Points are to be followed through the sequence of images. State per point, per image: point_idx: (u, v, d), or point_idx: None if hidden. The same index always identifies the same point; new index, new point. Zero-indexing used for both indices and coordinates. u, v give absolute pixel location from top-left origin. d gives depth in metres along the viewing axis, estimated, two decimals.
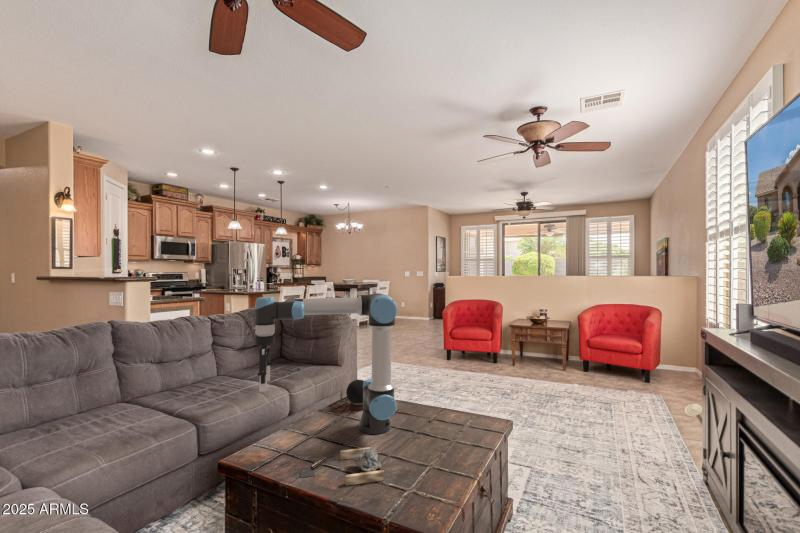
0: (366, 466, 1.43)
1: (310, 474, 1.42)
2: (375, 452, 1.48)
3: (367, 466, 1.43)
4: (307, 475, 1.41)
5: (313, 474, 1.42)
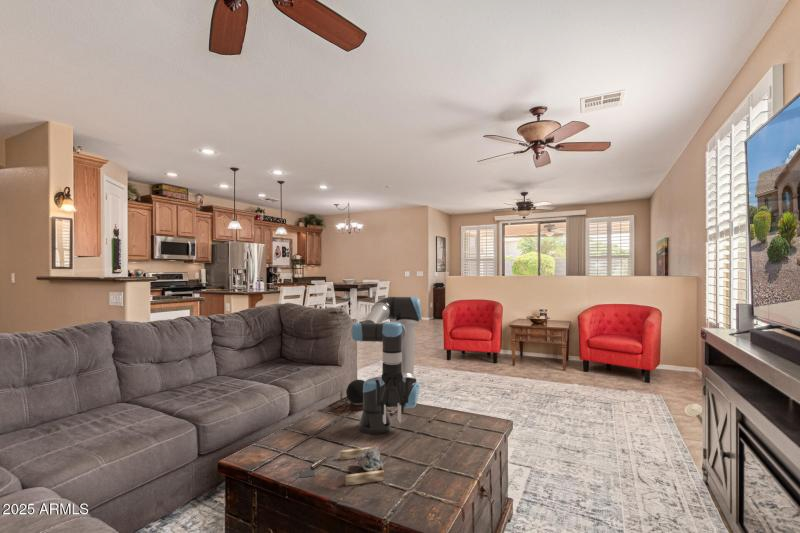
0: (368, 466, 1.44)
1: (310, 474, 1.42)
2: (377, 452, 1.49)
3: (369, 466, 1.44)
4: (307, 475, 1.41)
5: (313, 474, 1.42)
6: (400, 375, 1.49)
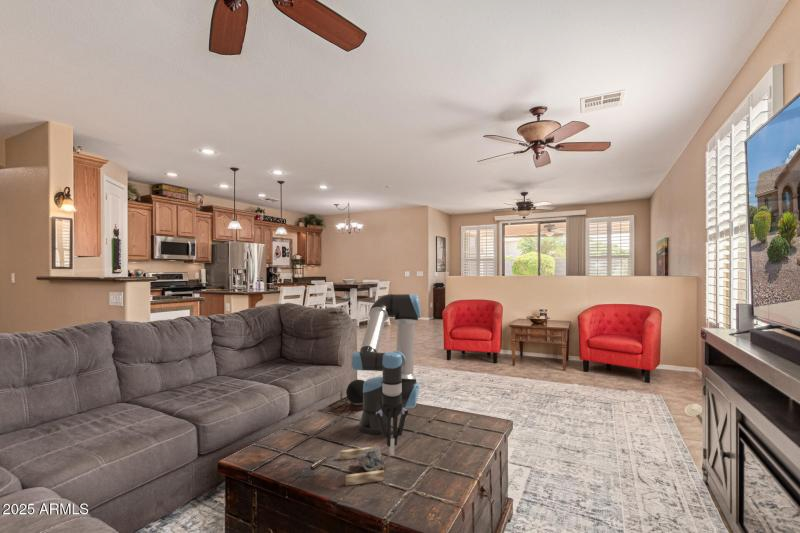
0: (369, 466, 1.44)
1: (310, 474, 1.42)
2: (378, 452, 1.49)
3: (370, 466, 1.44)
4: (307, 475, 1.41)
5: (313, 474, 1.42)
6: (400, 406, 1.49)
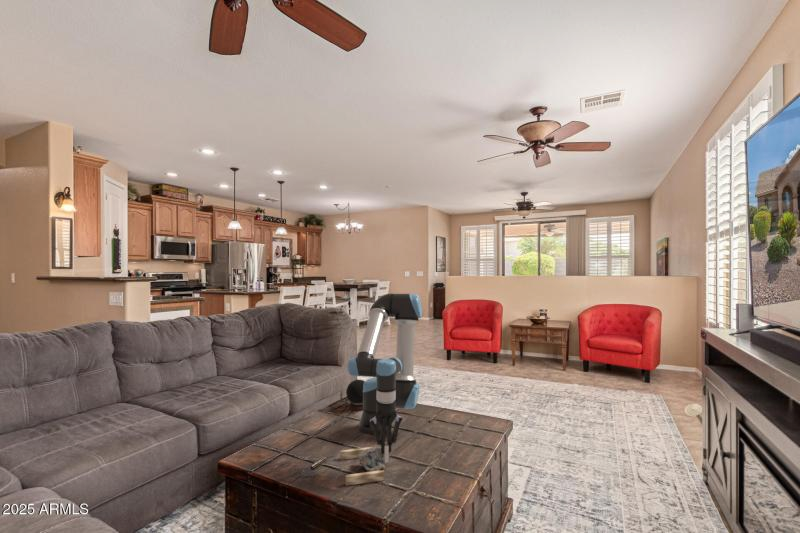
0: (370, 465, 1.44)
1: (310, 474, 1.42)
2: (379, 452, 1.49)
3: (371, 465, 1.44)
4: (307, 475, 1.41)
5: (313, 474, 1.42)
6: (394, 413, 1.48)
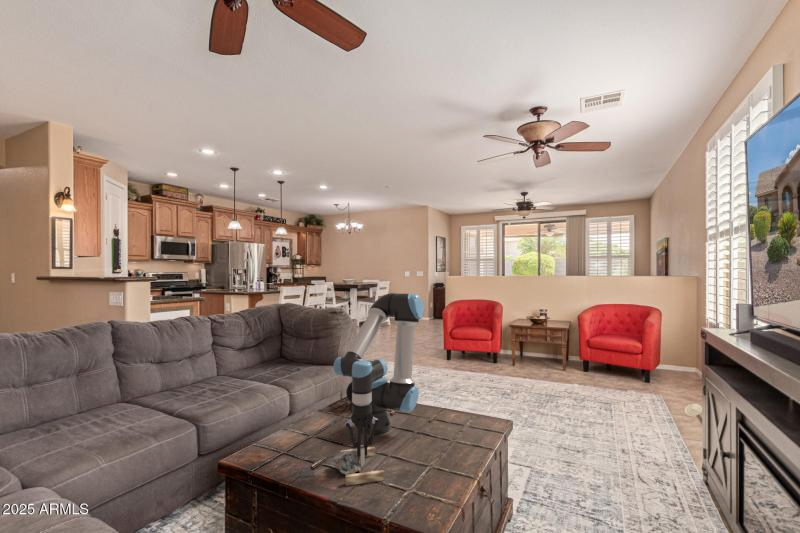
0: (345, 468, 1.42)
1: (310, 474, 1.42)
2: (356, 454, 1.46)
3: (346, 468, 1.42)
4: (307, 475, 1.41)
5: (313, 474, 1.42)
6: (371, 416, 1.46)
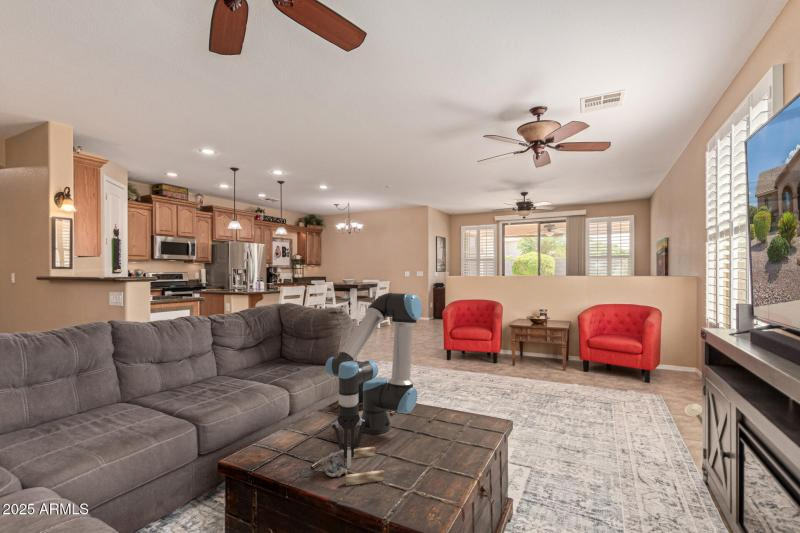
0: (331, 470, 1.40)
1: (310, 474, 1.42)
2: (342, 456, 1.45)
3: (332, 470, 1.40)
4: (307, 475, 1.41)
5: (313, 474, 1.42)
6: (357, 417, 1.45)
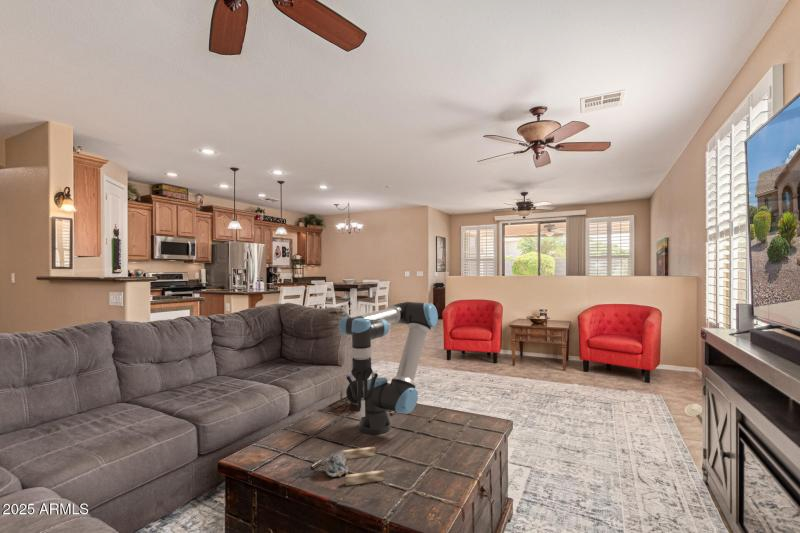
0: (332, 471, 1.40)
1: (310, 474, 1.42)
2: (343, 456, 1.45)
3: (333, 471, 1.40)
4: (307, 475, 1.41)
5: (313, 474, 1.42)
6: (370, 369, 1.53)
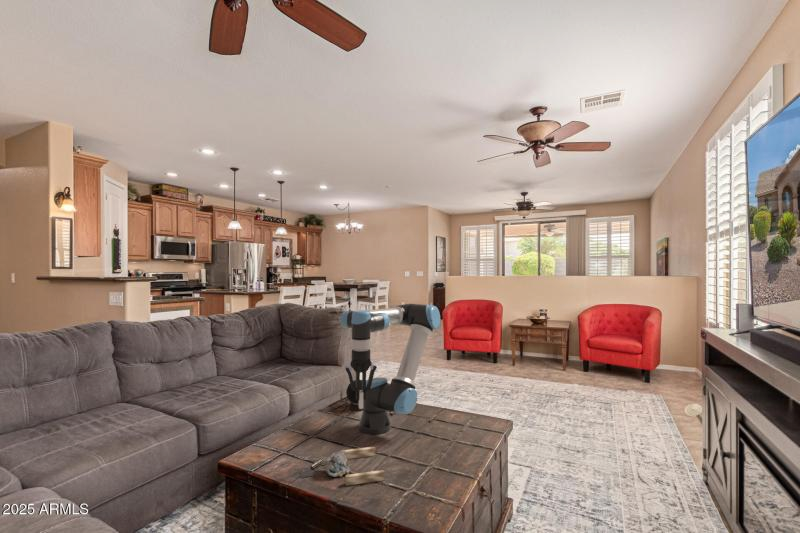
0: (333, 470, 1.40)
1: (310, 474, 1.42)
2: (344, 456, 1.45)
3: (334, 470, 1.40)
4: (307, 475, 1.41)
5: (313, 474, 1.42)
6: (369, 362, 1.54)
